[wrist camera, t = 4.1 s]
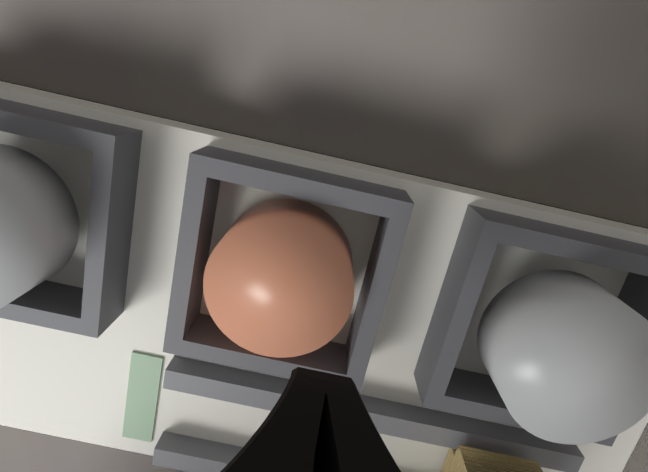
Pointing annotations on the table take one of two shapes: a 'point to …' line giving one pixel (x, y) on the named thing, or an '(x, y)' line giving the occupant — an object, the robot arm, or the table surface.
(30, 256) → the grey button
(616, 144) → the table surface
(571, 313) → the grey button
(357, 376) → the panel
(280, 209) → the terracotta button
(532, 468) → the brass slider
